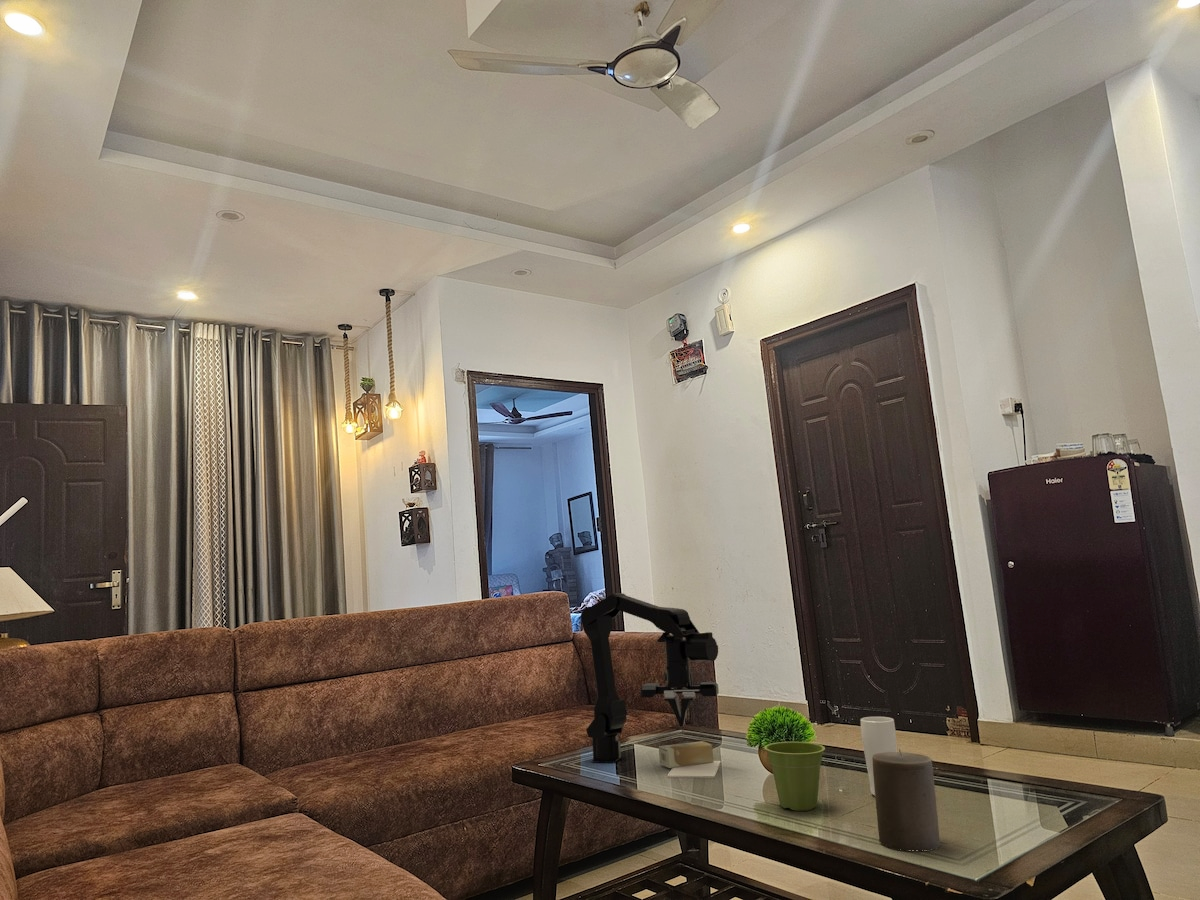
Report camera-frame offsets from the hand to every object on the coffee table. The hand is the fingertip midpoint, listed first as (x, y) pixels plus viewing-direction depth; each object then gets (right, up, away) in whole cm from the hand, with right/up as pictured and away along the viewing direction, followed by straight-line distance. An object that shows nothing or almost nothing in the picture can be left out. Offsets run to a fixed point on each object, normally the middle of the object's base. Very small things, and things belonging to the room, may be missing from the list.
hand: (681, 726), depth 195 cm
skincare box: (-4, -8, +1) cm, 9 cm away
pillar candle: (+32, +2, -62) cm, 70 cm away
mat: (+3, -10, -2) cm, 10 cm away
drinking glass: (+38, -3, -33) cm, 50 cm away
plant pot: (+19, -3, -38) cm, 42 cm away
